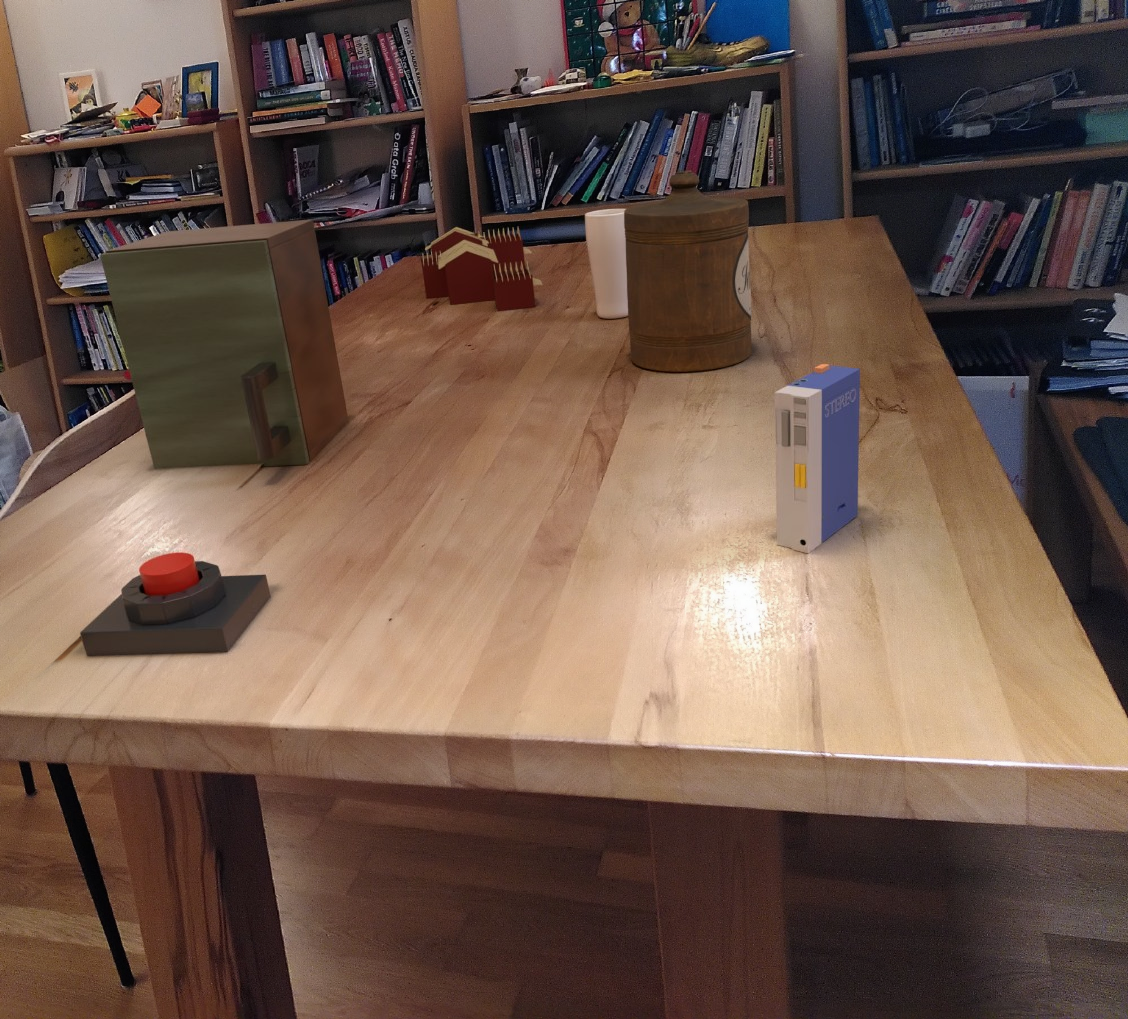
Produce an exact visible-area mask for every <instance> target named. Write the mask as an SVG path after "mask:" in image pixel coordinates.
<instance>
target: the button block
mask: <svg viewBox="0 0 1128 1019" xmlns="http://www.w3.org/2000/svg"><path fill="white" fill-rule="evenodd" d="M195 564H196V568H197V572H198V576H199V582H198V583H197V584H196V585H194V586H192V587H190V588H188V589H186V590H184V591H181V592H177V593H173V594H169V595H160V596H149V595H146V594H145V591H144V587H143V583H142V579H141V576H140V574H138V575H137V576H134V577H132V578H131V579H130V580H129V581H128V582H127V583H126V584H125V585H124V586H122V588H121V590H120V591H121V592H120V593H121V594H119V595H118V596H117V597H116V598H115V599H114V600H113V601H112V602H110V604H109V605H107V607H105V609H104V610H102V611H101V612H100V613H99V614H98V615H97V616H96V617H95V618H94V619H93V620H92V621H91V622H89V623H88V624H87V625H86V626H85V627H84V628H83V629H82V630H81V631H80V632H79V635H80V638H81V641H82V645H83V648H84V651H85V654H86V657H107V656H108V657H109V656H111V657H113V656H144V655H145V656H146V655H151V656H152V655H180V654H181V655H182V654H187V655H188V654H218V653H222V654H223V653H224V654H225V653H228V652H229V651H230V650H231V649H232V648H233V646H234V645H235V644H236V642H237V641H238V639H240V637H241V636H242V635H243V633H244V632H245V631H246V630H247V628H248V627H249V626H250V624H251V623H252V622H253V621H254V619H255V618H256V616H257V615H258V614H259V613H260V612H261V611H262V609H263V608H264V606H266V604H267V603H268V601H269V600H270V599H271V597H272V596H271V591H270V586H269V582H268V577H267V574H243V575H222V573H221V570H220V567H219V565H217V564H214V563H211V562H207V561H204V560H195Z"/></svg>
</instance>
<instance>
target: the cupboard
mask: <svg viewBox="0 0 1128 1019" xmlns="http://www.w3.org/2000/svg"><path fill="white" fill-rule="evenodd" d="M261 240H267V244H268V249H269V255H270V260H271V265H272V270H273V275H274V280H275V285H276V291H277V296H278V301H279V306H280V311H281V316H282V322H283V327H284V332H285V337H286V342H287V347H288V352H289V358H290V363H291V368H292V373H293V378H294V383H295V389H296V394H297V399H298V404H299V409H300V414H301V419H302V425H303V430H304V435H305V440H306V445H307V450H308V456H309V461H310V462H309V463H311V462H313V460H314V459H315V458H316V457H317V456H318V455H319V454H320V453H321V452H322V451H323V450H324V449H325V448H326V446H328V444H329V443H330V442H331V441H332V440H334V438H335V437H336V436H337V435H338V434H339V433H340V431H342V430H343V429H344V428H345V426H346V425H347V424H349V423H350V422H349V415H348V410H347V404H346V399H345V393H344V388H343V381H342V377H341V370H340V365H339V359H338V353H337V347H336V341H335V337H334V336H335V335H334V331H333V324H332V320H331V315H330V314H331V313H330V308H329V301H328V296H327V291H326V285H325V280H324V274H323V267H322V264H321V263H322V262H321V257H320V252H319V245H318V240H317V233H316V229H315V223H314V219H302V220H301V219H300V220H291V221H277V222H267V223H266V222H265V223H254V224H240V225H230V226H219V227H218V226H217V227H207V228H204V227H203V228H193V229H181V230H170V231H169V230H168V231H165V232H161V233H158V234H155V235H151V236H149V237H145V238H142V239H140V240H136V241H132V242H130V243H126V244H123V245H120V246H117V247H114V248H110V249H107V250H105V252H104V253H113V252H125V251H138V250H150V249H162V248H175V247H187V246H199V245H211V244H224V243H236V242H248V241H261Z"/></svg>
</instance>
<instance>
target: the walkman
mask: <svg viewBox="0 0 1128 1019" xmlns="http://www.w3.org/2000/svg"><path fill="white" fill-rule="evenodd" d="M860 389H861V369H860V368H859V367H857V368H855V367H848V366H839V365H830V364H829V363H828V364H827V363H821V364H819V365H817V366H815V367H814V371H813V372H811V373H808V374H807V375H805V376H803V377H801V378H799V379H797V380H795V381H793V382H791V383H789V384H787V385H785V386H784V387H781V388H780V389H777V391H774V437H775V438H774V440H775V444H774V446H775V447H774V448H775V451H774V452H775V503H776V504H775V507H776V508H775V509H776V511H775V512H776V513H775V514H776V545H777V546H780V547H784V548H789V549H791V551H795V552H796V551H797V552H801V553H805V554H810V553H811V552H812V551H814V550H815V549H816V548H818V547H819V546H820V545H822V543H824V542H825V541H827V539H829V538H830V537H832V536H833V535H835V533H837V532H838V531H839V530H841V529H842V528H843V527H844V526H846V525H847V524H848V523H850V522H851V521H853V520H854V519H855V518H856V517H858V515H859V512H858V510H859V454H860V451H859V450H860V446H859V445H860V400H861V399H860V395H861V394H860V392H861V390H860Z"/></svg>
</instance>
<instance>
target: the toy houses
mask: <svg viewBox="0 0 1128 1019" xmlns="http://www.w3.org/2000/svg"><path fill="white" fill-rule="evenodd" d="M497 230H498V231H497V234H496V235H495V229H492V232H493V233H492V234H493V235H491V233H490V229H487V232H488V236H486V235H485V233H483V235H481V234H479V232H476V233H475V231H474V230H473V232H472V231H470V230H466V229H464V228H461V227H458V226H455V227H453V228H452V229H450V230H448V231H447V232H445V233H444V234H442V235H440V236H439V237H438V238H436V239H435V240H433V241H432V242H430V244H429V245H427V246H426V247H425V248H424V250H425V251H426V252H427V251H428V250H429V249H430V253H428V252H427V253H426V256H424V253H420V254H419V255H421V257H420V262H421V270H422V277H423V284H424V289H425V290H424V291H425V298H426V300H427V299H428V300H429V299H436V298H444V297H448V299H449V300H448V301H449V305H450V306H454V305H460V304H461V305H462V304H472V303H478V302H489V301H494V304H495V306H496V310H497V312H503V311H512V310H513V311H514V310H521V309H529V308H536V298H535V297H536V296H535V288H534V287H535V286H539V285H540V286H543V285H544V284H543V283H542V281H541V279H539V278H536V277H533V274H531V270H530V265H529V261H528V260H526V262H525V254H532V253H533V252H532V251H531V249H529V248H526V247H524V243H523V241H524V240H523V237H522V236H521V230H520V228H519V226H517V232H516V233H515V229H514V228H512V233H510V230H509V228H508V227H506V228H502V234H501V233H500V230H499V228H498V229H497ZM505 230H507V232H506V234H505ZM425 257H427V258H425Z"/></svg>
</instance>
